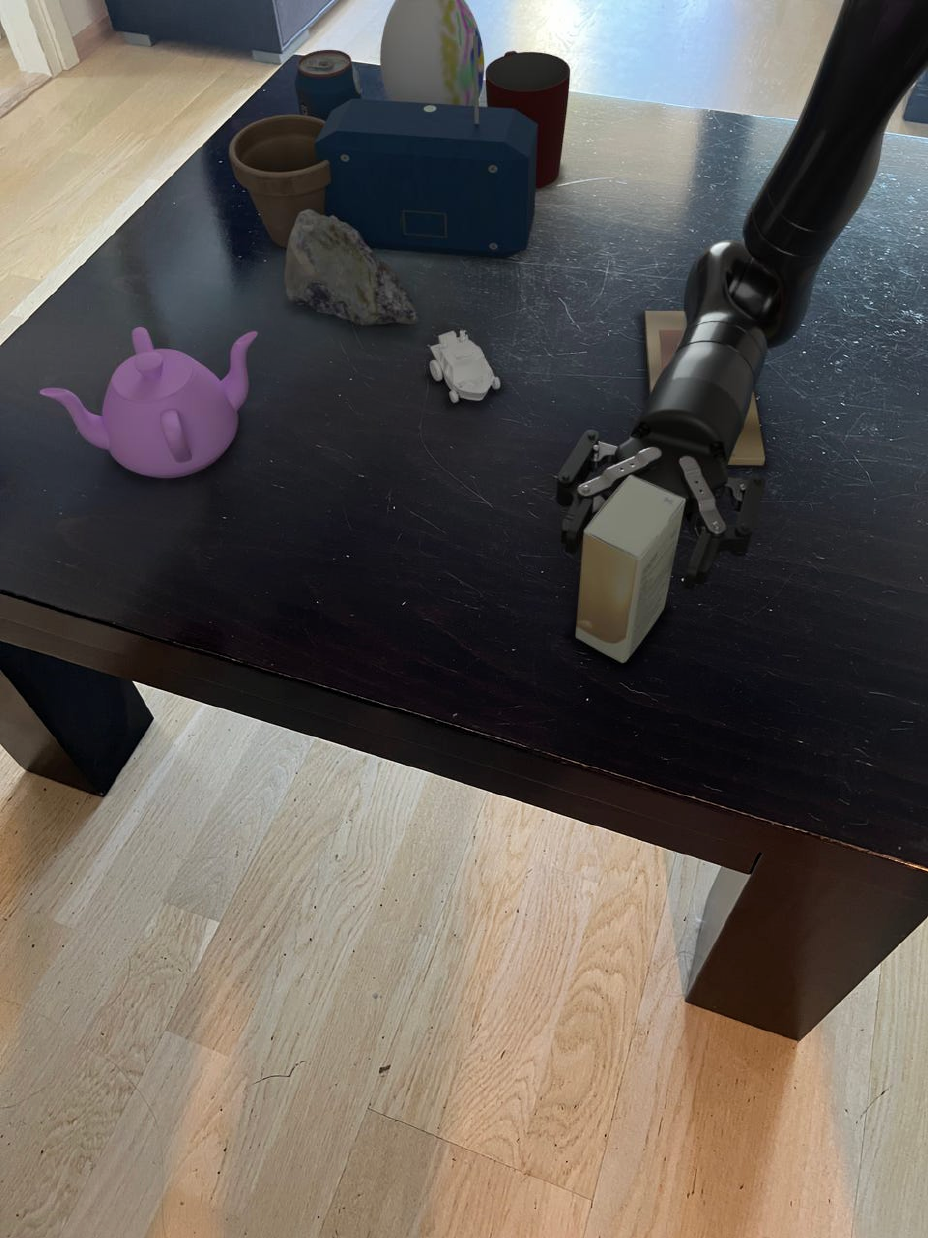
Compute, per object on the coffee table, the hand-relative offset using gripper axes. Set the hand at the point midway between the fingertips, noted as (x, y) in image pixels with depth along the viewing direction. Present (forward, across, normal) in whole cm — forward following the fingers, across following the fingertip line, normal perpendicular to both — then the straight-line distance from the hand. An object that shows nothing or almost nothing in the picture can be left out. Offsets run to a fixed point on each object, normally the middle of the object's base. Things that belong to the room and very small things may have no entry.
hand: (628, 563), depth 67 cm
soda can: (-50, -50, +7) cm, 71 cm away
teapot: (-5, -42, +7) cm, 43 cm away
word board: (-28, -2, +7) cm, 29 cm away
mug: (-58, -31, +7) cm, 66 cm away
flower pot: (-37, -48, +7) cm, 61 cm away
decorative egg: (-65, -45, +7) cm, 80 cm away
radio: (-42, -35, +7) cm, 54 cm away
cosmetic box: (0, 0, +7) cm, 7 cm away
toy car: (-21, -22, +7) cm, 31 cm away
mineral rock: (-26, -36, +7) cm, 45 cm away
